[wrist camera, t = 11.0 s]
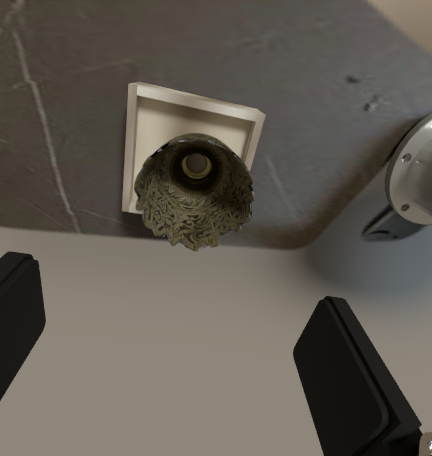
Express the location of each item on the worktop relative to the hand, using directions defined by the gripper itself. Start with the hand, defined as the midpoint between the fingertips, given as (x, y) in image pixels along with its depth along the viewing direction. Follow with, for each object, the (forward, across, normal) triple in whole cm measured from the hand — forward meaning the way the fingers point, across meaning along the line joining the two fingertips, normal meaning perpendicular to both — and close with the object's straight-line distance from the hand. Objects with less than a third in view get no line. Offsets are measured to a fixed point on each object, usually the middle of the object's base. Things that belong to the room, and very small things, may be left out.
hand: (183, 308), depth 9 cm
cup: (+17, 0, 0) cm, 17 cm away
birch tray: (+19, +1, 0) cm, 19 cm away
